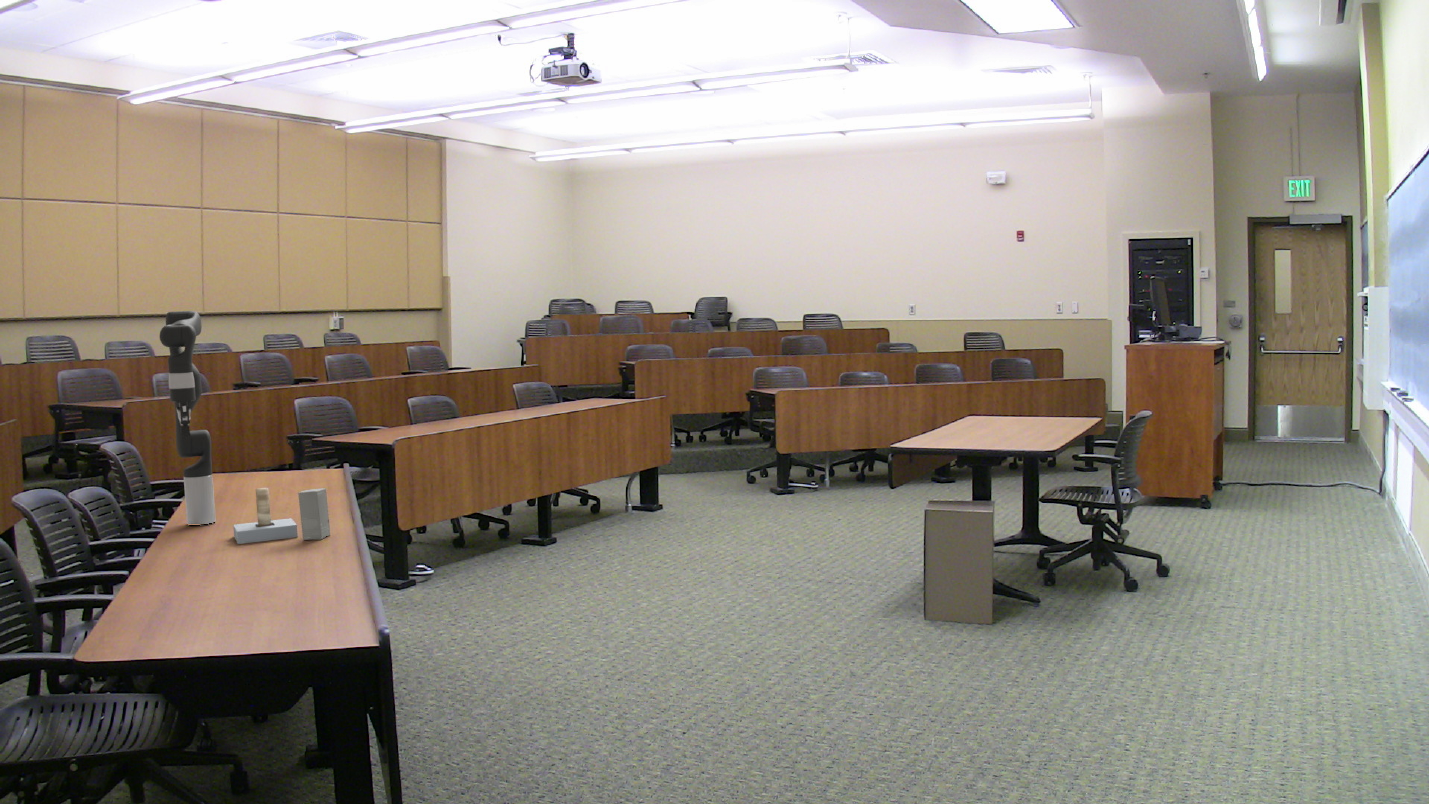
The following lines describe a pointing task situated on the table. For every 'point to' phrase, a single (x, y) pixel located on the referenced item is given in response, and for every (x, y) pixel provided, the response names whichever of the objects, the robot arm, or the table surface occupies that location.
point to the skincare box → (314, 514)
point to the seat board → (265, 531)
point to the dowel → (263, 507)
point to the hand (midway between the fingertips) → (185, 436)
